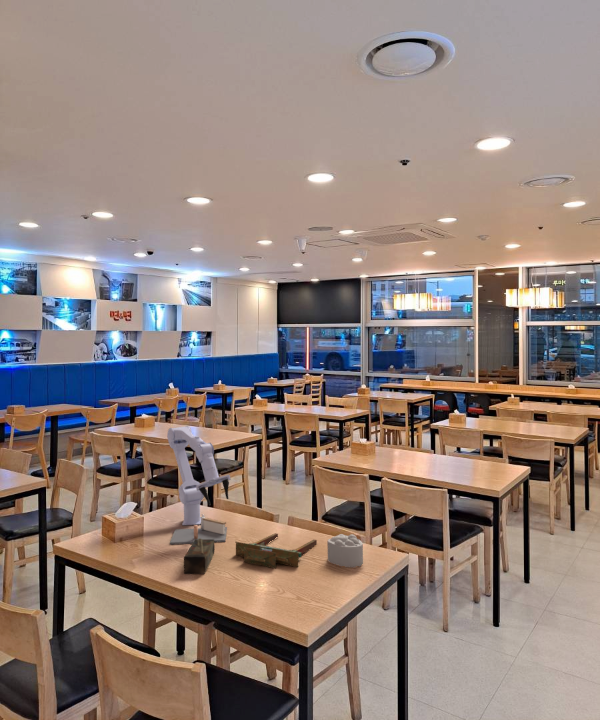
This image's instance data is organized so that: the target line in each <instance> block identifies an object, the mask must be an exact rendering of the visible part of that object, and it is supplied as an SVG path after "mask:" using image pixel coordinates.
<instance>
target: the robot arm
mask: <svg viewBox="0 0 600 720" xmlns="http://www.w3.org/2000/svg"><path fill="white" fill-rule="evenodd" d="M166 437H167V441H168V445H169V447H170V448H171V449H172V450H173V453H174V456H175V460H176V463H177V467H178V471H179V475H180V478H181V483H182V484H180V485H179V487H178V495H179V496H178V498H179V501H180V502H181V504H183V521H182V522H181V523H182V526H194V525H198V526H200V525H201V517H202V516H201V503H202V501H203V500H204V498H205V500H206V502H207V505H208V506H211V501H210V499H209V498H210V497H209V495H208V490H207V488H209V487H213V486H215V485H219V484H222V486H223V487H222V488H223V490H224V493H225V498H226V500H229V499H230V498H229V485H230V482H229V481H232V480H231V475H230V474H226V475H221V476H219V471H218V468H217V465H216V461H215V457H214V454H215V448H214V445H213V443H212V442H206V441H205V440H203V439H202V438H201V437H200V436H199V435H194V434H193V433H192V429H191V427H190V426H189V425H186V426H179V427H173V428H172V427H170V428H169V429H168V430H167V435H166ZM188 446H189V447H190V448H191V449H192V450H193V451H194V452H195V456H196V458H197V459H198V462H199V463H200V464H201V468H202V471H203V476H204V482H203V481H202V482H201V483H200V482H199V481H197V480H196V479H194V477H193V473H192V469H191V465H190V462H189V458H188V455H187V452H186V449H185V448H187V447H188Z"/></svg>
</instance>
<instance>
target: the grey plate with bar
mask: <svg viewBox="0 0 600 720" xmlns="http://www.w3.org/2000/svg"><path fill="white" fill-rule="evenodd" d="M201 517H205V514H202V515H201ZM227 530H228V526H225V534H219V533H215V532H211V531H207V530H202V529H201V527H199V525H193V528H178V529H177V528H176V529H174V532H173V534H172V537H171V539H170V540H169V541H170V542H169V546H170V545H187V544H188V545H190V544H191V545H192V544H193V542H194V541H195V539H199V538H201V539H214V543H226V539H227V533H228V531H227Z"/></svg>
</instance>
